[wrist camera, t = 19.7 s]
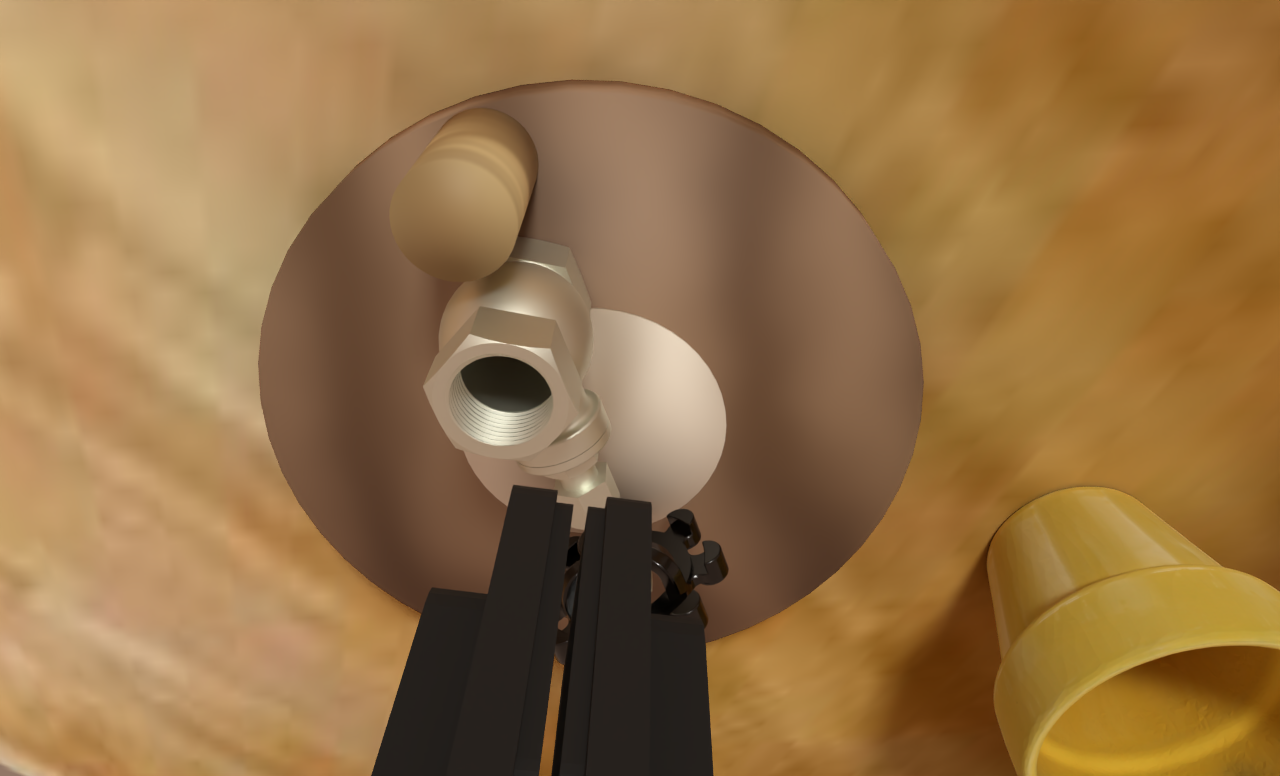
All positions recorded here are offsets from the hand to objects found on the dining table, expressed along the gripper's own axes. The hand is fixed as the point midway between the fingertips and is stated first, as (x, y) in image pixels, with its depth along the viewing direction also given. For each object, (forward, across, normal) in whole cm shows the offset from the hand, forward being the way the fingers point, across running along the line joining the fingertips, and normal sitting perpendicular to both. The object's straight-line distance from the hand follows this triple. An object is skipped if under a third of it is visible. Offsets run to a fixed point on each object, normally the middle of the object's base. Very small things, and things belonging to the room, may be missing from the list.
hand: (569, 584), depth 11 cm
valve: (+17, 0, +8) cm, 18 cm away
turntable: (+18, 0, +9) cm, 20 cm away
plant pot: (+20, -20, +14) cm, 31 cm away
